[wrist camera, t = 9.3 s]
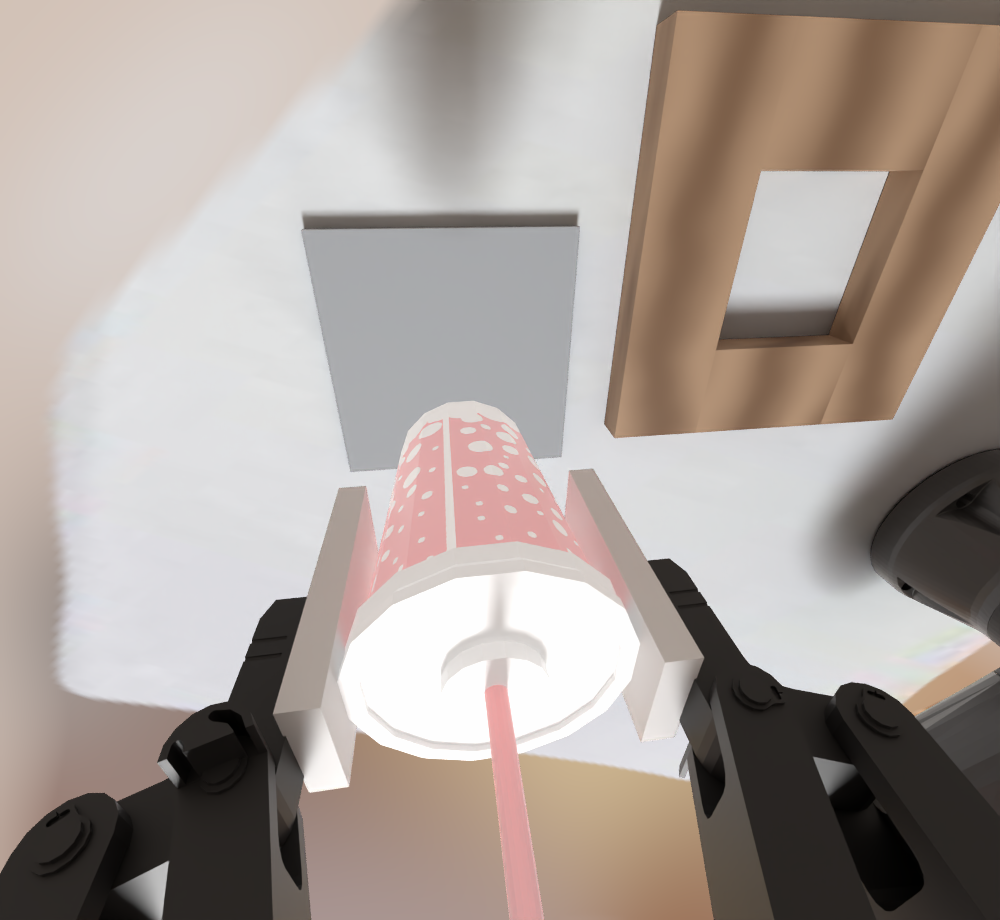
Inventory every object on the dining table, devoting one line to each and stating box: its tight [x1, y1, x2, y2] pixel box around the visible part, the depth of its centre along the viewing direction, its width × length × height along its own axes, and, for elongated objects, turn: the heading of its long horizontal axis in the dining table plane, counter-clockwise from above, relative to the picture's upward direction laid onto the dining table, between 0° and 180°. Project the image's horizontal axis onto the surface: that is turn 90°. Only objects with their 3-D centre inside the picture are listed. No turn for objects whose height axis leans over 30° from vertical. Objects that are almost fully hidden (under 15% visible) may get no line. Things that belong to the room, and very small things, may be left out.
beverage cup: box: [337, 401, 640, 920], centre depth 11 cm, size 6×6×14 cm
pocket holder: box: [604, 10, 1000, 438], centre depth 26 cm, size 20×20×2 cm
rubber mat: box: [301, 226, 580, 472], centre depth 27 cm, size 14×14×1 cm
